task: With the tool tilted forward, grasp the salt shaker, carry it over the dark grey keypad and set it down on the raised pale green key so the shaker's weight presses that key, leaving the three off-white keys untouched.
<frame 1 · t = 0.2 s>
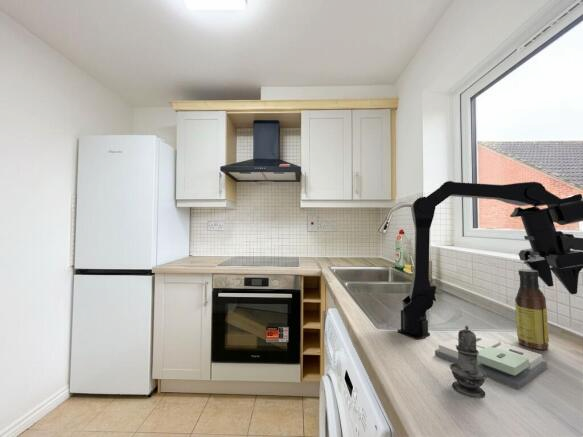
hand: (561, 289, 67), 15 cm above the worktop, tool pointing down, fingers open, 9 cm apart
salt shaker: (468, 390, 51), on the worktop
sauce bottle: (532, 346, 70), on the worktop
keypad board: (488, 361, 61), on the worktop
green key: (501, 362, 56), point 2 cm above the worktop, slide at 0.0 cm
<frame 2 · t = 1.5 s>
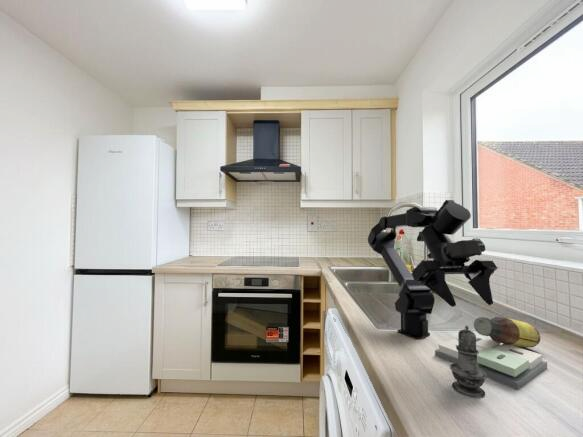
hand: (472, 305, 58), 14 cm above the worktop, tool tilted 40°, fingers open, 9 cm apart
sauce bottle: (527, 336, 70), point 3 cm above the worktop, touching keypad board
everything else where it was.
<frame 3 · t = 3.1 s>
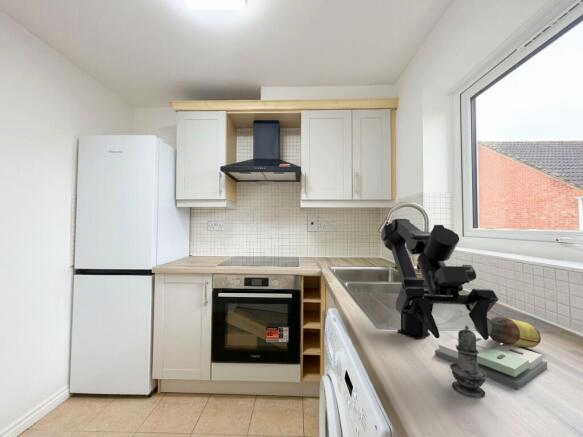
hand: (462, 338, 53), 9 cm above the worktop, tool tilted 45°, fingers open, 9 cm apart
nothing on the worktop moved.
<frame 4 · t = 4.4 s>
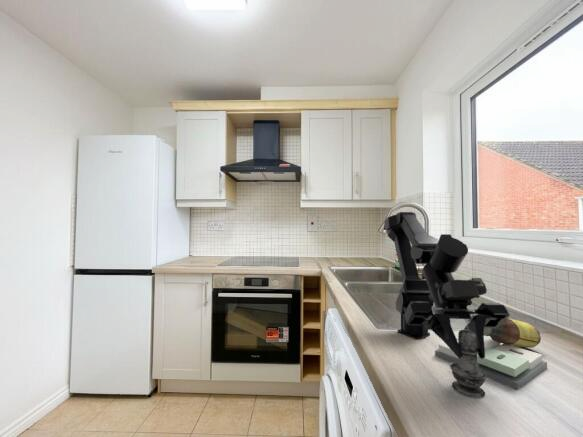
hand: (471, 357, 49), 7 cm above the worktop, tool tilted 45°, fingers closed on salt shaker, 4 cm apart
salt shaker: (468, 390, 50), on the worktop, touching gripper
everything else where it was.
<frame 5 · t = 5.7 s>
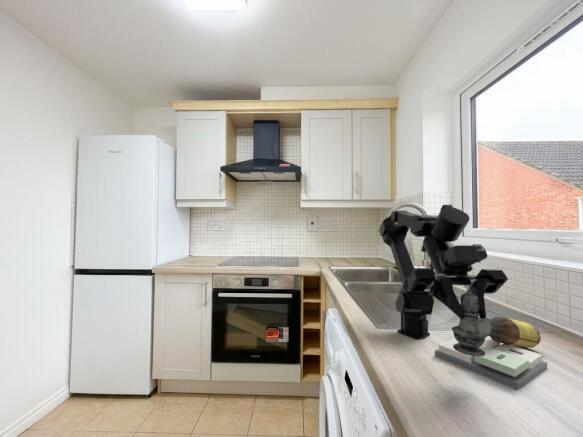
hand: (473, 318, 51), 13 cm above the worktop, tool tilted 45°, fingers closed on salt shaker, 4 cm apart
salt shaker: (468, 351, 52), point 6 cm above the worktop, touching gripper
everything else where it was.
when the fingers open (11 cm above the worktop, at t = 6.9 s): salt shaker drops 1 cm, resting on green key.
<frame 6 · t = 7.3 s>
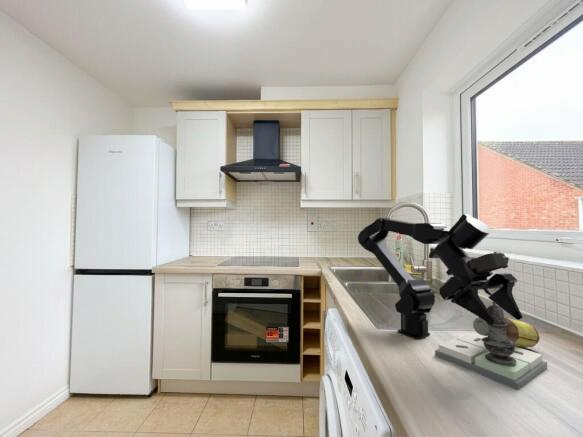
hand: (507, 321, 55), 11 cm above the worktop, tool tilted 45°, fingers open, 8 cm apart
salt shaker: (500, 360, 56), point 3 cm above the worktop, touching green key
green key: (501, 366, 56), point 2 cm above the worktop, slide at -0.9 cm, touching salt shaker
everything else where it was.
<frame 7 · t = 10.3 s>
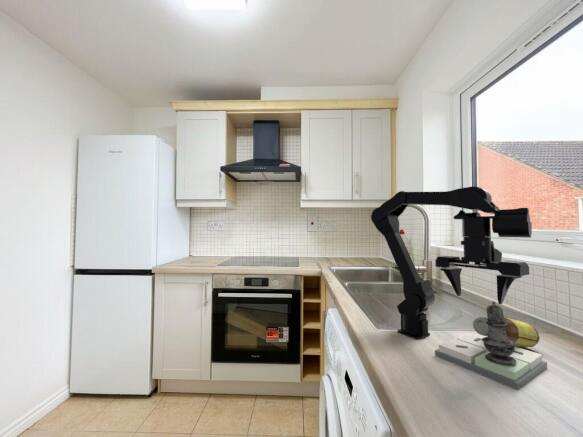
hand: (478, 299, 66), 13 cm above the worktop, tool pointing down, fingers open, 9 cm apart
nothing on the worktop moved.
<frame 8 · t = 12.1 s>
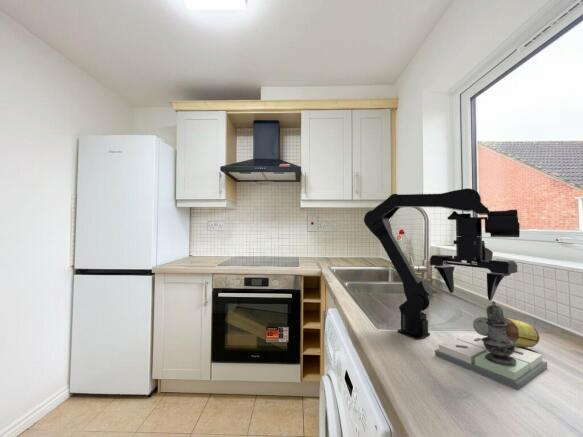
hand: (470, 296, 70), 13 cm above the worktop, tool pointing down, fingers open, 9 cm apart
nothing on the worktop moved.
at the end: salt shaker 0.1 cm off-centre on the green key, point 3.7 cm above the green key's base; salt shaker tilted 5°; the gripper is holding nothing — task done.
